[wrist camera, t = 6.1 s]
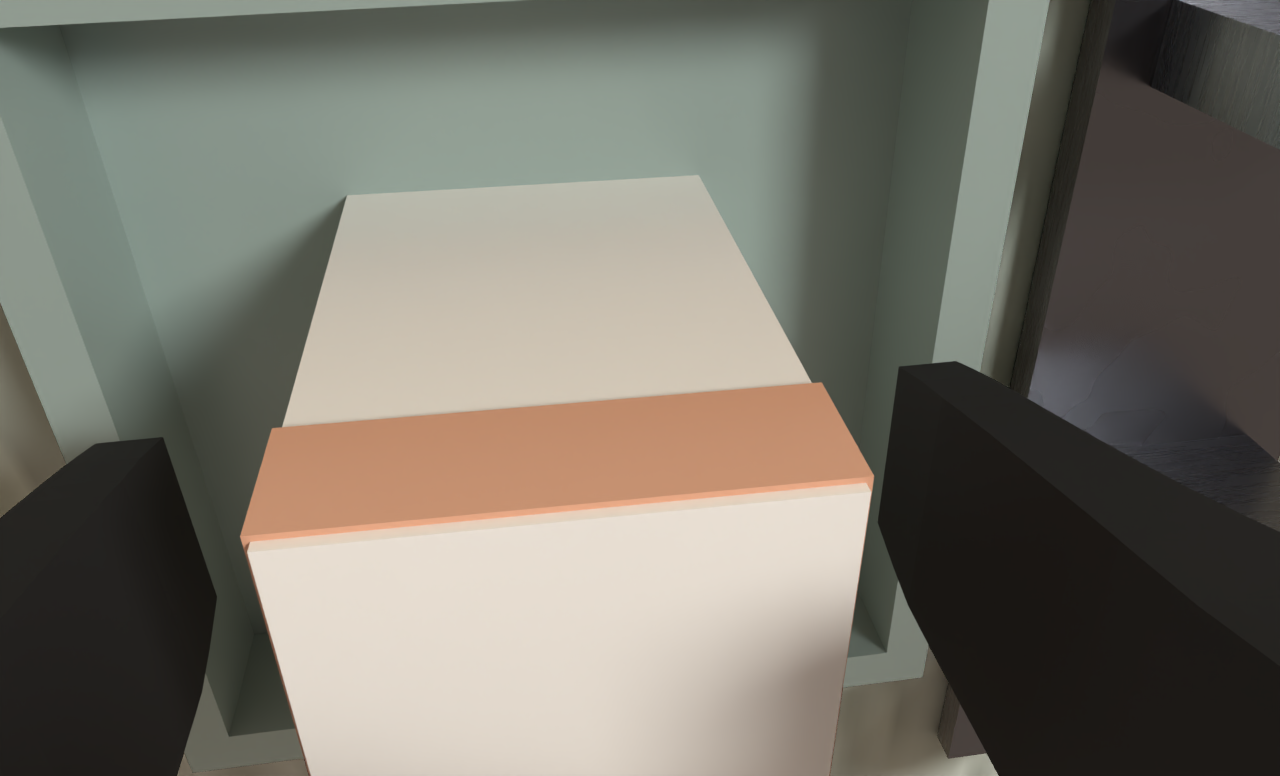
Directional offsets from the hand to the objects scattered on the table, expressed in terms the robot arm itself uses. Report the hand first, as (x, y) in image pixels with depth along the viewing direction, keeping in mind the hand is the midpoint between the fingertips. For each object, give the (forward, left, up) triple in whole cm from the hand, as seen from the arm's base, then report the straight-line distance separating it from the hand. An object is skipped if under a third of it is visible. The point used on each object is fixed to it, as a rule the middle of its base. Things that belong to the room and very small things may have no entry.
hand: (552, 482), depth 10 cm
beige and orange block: (0, 0, -3) cm, 3 cm away
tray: (0, 0, -3) cm, 3 cm away
